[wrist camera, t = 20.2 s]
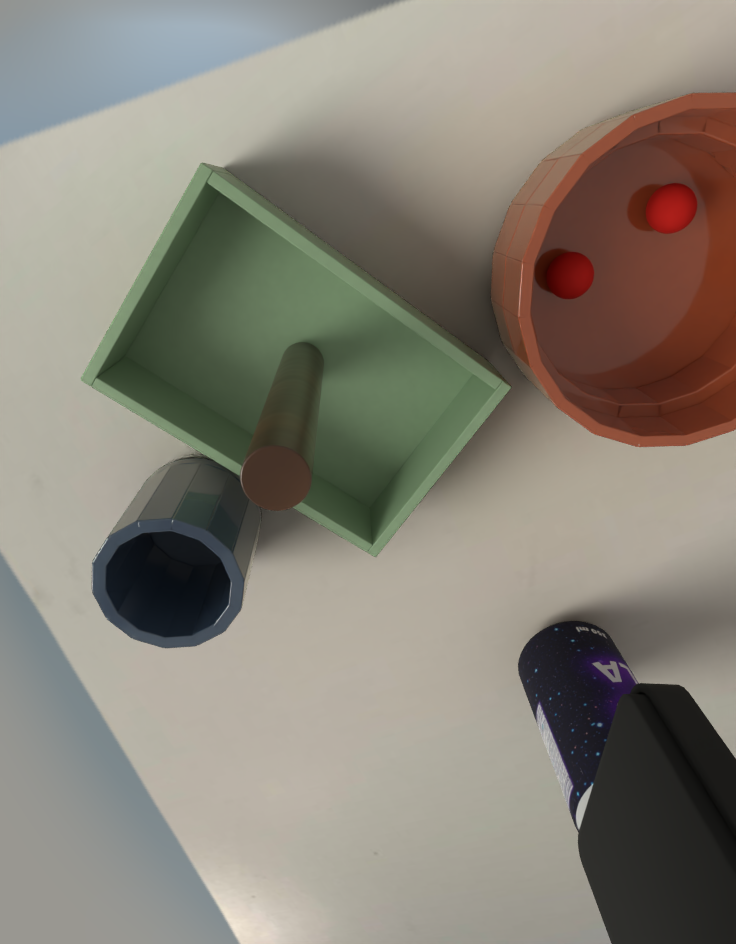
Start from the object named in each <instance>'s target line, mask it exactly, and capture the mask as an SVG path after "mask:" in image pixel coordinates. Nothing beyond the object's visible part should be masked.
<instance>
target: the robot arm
mask: <svg viewBox="0 0 736 944" xmlns="http://www.w3.org/2000/svg"><path fill="white" fill-rule="evenodd" d="M578 847H579V854H580V858H581V862H582V865H583V867H584V870H585V873H586V875H587V878H588V881H589V884H590V886H591V889H592V892H593V894H594V897H595V900H596V903H597V905H598V908H599V911H600V913H601V916H602V919H603V922H604V924H605V927H606V930H607V932H608V935H609V938H610V940H611V943H612V944H736V759H735V757H734V756H733V754H732V753H731V752H730V750H729V749H728V747H727V746H726V744H725V743H724V742H723V740H722V739H721V737H720V736H719V735H718V733H717V732H716V730H715V729H714V727H713V726H712V725H711V723H710V722H709V720H708V719H707V718H706V716H705V715H704V713H703V712H702V711H701V709H700V708H699V706H698V705H697V703H696V702H695V701H694V699H693V698H692V696H691V695H690V694H689V692H688V691H687V690H686V689H685V688H684V687H682V686H680V685H669V684H646V683H640V684H636V685H635V686H634V687H633V688H632V690H631V692H630V694H623V695H622V696H621V697H620V699H619V701H618V704H617V708H616V711H615V714H614V718H613V721H612V724H611V727H610V731H609V734H608V737H607V741H606V744H605V747H604V750H603V754H602V757H601V760H600V763H599V767H598V770H597V773H596V777H595V780H594V783H593V786H592V790H591V793H590V796H589V799H588V803H587V806H586V809H585V813H584V816H583V819H582V822H581V826H580V829H579V834H578Z"/></svg>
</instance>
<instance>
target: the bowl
mask: <svg viewBox="0 0 736 944" xmlns="http://www.w3.org/2000/svg"><path fill="white" fill-rule="evenodd" d="M671 183H680V184H684V185H686V186H688V187H689V188H690V189H692V191H693V192H694V193H695V195H696V198H697V211H696V214H695V216H694V218H693V220H692V221H691V222H690V224H689V225H688V226H686V227H685V228H684V229H682V230H680V231H678V232H675V233H671V234H664V233H660V232H657V231H656V230H654V229H653V228H652V227H651V226H650V225H649V223H648V221H647V219H646V206H647V203H648V200H649V199H650V197H651V196H652V194H653V193H654V192H655V191H656V190H657V189H659V188H660V187H662V186H664V185H667V184H671ZM566 252H578V253H581V254H583V255H585V256H586V257H587V258H588V259H589V260H590V261H591V263H592V265H593V268H594V279H593V282H592V284H591V286H590V288H589V289H588V290H587V291H586V293H584V294H583V295H582V296H580V297H578V298H575V299H562V298H559V297H557V296H556V295H554V294H553V293H552V292H551V290H550V289H549V287H548V284H547V277H546V276H547V271H548V268H549V266H550V264H551V263H552V261H553V260H554V259H555V258H556V257H558V256H559V255H561V254H563V253H566ZM491 303H492V307H493V311H494V315H495V318H496V322H497V326H498V330H499V334H500V337H501V340H502V343H503V344H504V346H505V347H506V349H507V350H508V352H509V353H510V355H511V356H512V358H513V359H514V361H515V362H516V364H517V365H518V367H519V368H520V370H521V371H522V373H523V374H524V375H525V376H526V377H527V378H528V379H529V380H530V381H531V382H532V383H533V384H534V385H535V386H536V387H537V388H538V389H539V390H540V391H541V392H542V393H543V394H544V395H545V396H546V397H547V398H548V399H549V400H550V401H551V402H552V403H553V404H554V405H555V406H556V407H557V408H558V409H560V410H561V411H563V412H564V413H565V414H567V415H568V416H569V417H571V418H572V419H573V420H575V421H576V422H578V423H579V424H580V425H582V426H583V427H584V428H586V429H587V430H589V431H590V432H591V433H594V434H595V435H599V436H602V437H605V438H609V439H612V440H616V441H619V442H622V443H626V444H629V445H632V446H636V447H657V446H686V445H690V444H693V443H696V442H700V441H703V440H706V439H709V438H712V437H715V436H718V435H722V434H725V433H728V432H731V431H734V430H736V92H721V93H691V94H686V95H683V96H679V97H676V98H673V99H669V100H666V101H663V102H659V103H656V104H653V105H649V106H646V107H642V108H639V109H636V110H632V111H629V112H626V113H624V114H621V115H618V116H615V117H613V118H610V119H607V120H605V121H602V122H599V123H596V124H594V125H591V126H588V127H586V128H584V129H582V130H580V131H579V132H578V133H577V134H575V135H574V136H573V137H571V138H570V139H569V140H568V141H566V142H565V143H564V144H562V145H561V146H560V147H558V148H557V149H556V150H555V151H553V152H552V153H551V154H549V155H548V156H547V157H546V158H544V159H543V160H542V162H541V163H540V164H539V165H538V166H537V168H536V169H535V170H534V172H533V173H532V175H531V176H530V177H529V179H528V180H527V181H526V183H525V184H524V186H523V187H522V188H521V190H520V191H519V193H518V194H517V195H516V197H515V198H514V199H513V201H512V203H511V205H510V206H509V209H508V212H507V214H506V217H505V220H504V223H503V226H502V228H501V231H500V234H499V237H498V239H497V242H496V245H495V248H494V252H493V261H492V279H491Z"/></svg>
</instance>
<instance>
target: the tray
mask: <svg viewBox="0 0 736 944" xmlns="http://www.w3.org/2000/svg"><path fill="white" fill-rule="evenodd" d="M298 342H306V343H310V344H312V345H314V346H315V347H317V348H318V349H319V351H320V352H321V354H322V356H323V359H324V369H323V379H322V388H321V398H320V407H319V417H318V426H317V436H316V445H315V455H314V464H313V473H312V483H311V487H310V490H309V493H308V494H307V496H306V497H305V498H304V500H303V501H302V502H300V503H299V504H298V505H296V506H294V507H292V508H294V509H296V510H297V511H299V512H301V513H302V514H304V515H306V516H307V517H309V518H311V519H312V520H314V521H316V522H317V523H319V524H321V525H322V526H324V527H326V528H327V529H329V530H331V531H332V532H334V533H336V534H337V535H339V536H341V537H342V538H344V539H346V540H347V541H349V542H351V543H352V544H354V545H356V546H357V547H359V548H361V549H362V550H364V551H366V552H368V553H369V554H371V555H372V556H374V557H376V556H377V555H378V554H379V553H380V551H381V550H382V549H383V548H384V546H385V545H386V544H387V543H388V541H389V540H390V539H391V538H392V536H393V535H394V534H395V533H396V531H397V530H398V529H399V528H400V526H401V525H402V524H403V523H404V521H405V520H406V519H407V518H408V516H409V515H410V514H411V513H412V511H413V510H414V509H415V508H416V506H417V505H418V504H419V503H420V501H421V500H422V499H423V498H424V496H425V495H426V494H427V493H428V491H429V490H430V489H431V488H432V486H433V485H434V484H435V483H436V481H437V480H438V479H439V478H440V476H441V475H442V474H443V473H444V471H445V470H446V469H447V468H448V466H449V465H450V464H451V463H452V461H453V460H454V459H455V458H456V456H457V455H458V454H459V453H460V451H461V450H462V449H463V448H464V446H465V445H466V444H467V443H468V441H469V440H470V439H471V438H472V436H473V435H474V434H475V433H476V431H477V430H478V429H479V428H480V426H481V425H482V424H483V423H484V421H485V420H486V419H487V418H488V416H489V415H490V414H491V413H492V411H493V410H494V409H495V408H496V406H497V405H498V404H499V403H500V401H501V400H502V399H503V398H504V396H505V395H506V394H507V393H508V391H509V390H510V389H511V386H510V384H509V383H508V382H507V381H506V380H505V379H504V378H503V377H502V376H501V374H500V373H499V372H498V371H497V370H496V369H495V368H494V367H493V365H492V364H491V363H490V362H489V361H487V360H486V359H484V358H483V357H482V356H480V355H479V354H478V353H476V352H475V351H473V350H472V349H471V348H469V347H468V346H467V345H465V344H464V343H462V342H461V341H460V340H458V339H457V338H456V337H454V336H453V335H452V334H450V333H449V332H447V331H446V330H445V329H443V328H442V327H441V326H439V325H438V324H436V323H435V322H434V321H432V320H431V319H430V318H428V317H427V316H425V315H424V314H423V313H421V312H420V311H419V310H417V309H416V308H414V307H413V306H412V305H410V304H409V303H408V302H406V301H405V300H404V299H402V298H401V297H399V296H398V295H397V294H395V293H394V292H393V291H391V290H390V289H388V288H387V287H386V286H384V285H383V284H382V283H380V282H379V281H377V280H376V279H375V278H373V277H372V276H371V275H369V274H368V273H366V272H365V271H364V270H362V269H361V268H360V267H358V266H357V265H356V264H354V263H353V262H351V261H350V260H349V259H347V258H346V257H345V256H343V255H342V254H340V253H339V252H338V251H336V250H335V249H334V248H332V247H331V246H329V245H328V244H327V243H325V242H324V241H323V240H321V239H320V238H318V237H317V236H316V235H314V234H313V233H312V232H310V231H309V230H308V229H306V228H305V227H303V226H302V225H301V224H299V223H298V222H297V221H295V220H294V219H292V218H291V217H290V216H288V215H287V214H286V213H284V212H283V211H281V210H280V209H279V208H277V207H276V206H275V205H273V204H272V203H270V202H269V201H268V200H266V199H265V198H264V197H262V196H261V195H260V194H258V193H257V192H255V191H254V190H253V189H251V188H250V187H249V186H247V185H246V184H244V183H243V182H242V181H240V180H239V179H238V178H236V177H235V176H233V175H232V174H231V173H229V172H228V171H227V170H225V169H224V168H222V167H218V166H214V165H210V164H206V163H201V164H200V166H199V168H198V169H197V171H196V173H195V175H194V176H193V178H192V180H191V182H190V184H189V185H188V187H187V189H186V191H185V193H184V194H183V196H182V198H181V200H180V202H179V203H178V205H177V207H176V209H175V211H174V212H173V214H172V216H171V218H170V220H169V221H168V223H167V225H166V227H165V228H164V230H163V232H162V234H161V236H160V237H159V239H158V241H157V243H156V245H155V246H154V248H153V250H152V252H151V254H150V255H149V257H148V259H147V261H146V263H145V264H144V266H143V268H142V270H141V272H140V273H139V275H138V277H137V279H136V280H135V282H134V284H133V286H132V288H131V289H130V291H129V293H128V295H127V297H126V298H125V300H124V302H123V304H122V306H121V307H120V309H119V311H118V313H117V315H116V316H115V318H114V320H113V322H112V324H111V325H110V327H109V329H108V331H107V332H106V334H105V336H104V338H103V340H102V341H101V343H100V345H99V347H98V349H97V350H96V352H95V354H94V356H93V358H92V359H91V361H90V363H89V365H88V367H87V368H86V370H85V372H84V374H83V376H82V377H81V381H83V382H84V383H86V384H88V385H89V386H92V388H94V389H96V390H97V391H99V392H101V393H102V394H104V395H106V396H107V397H109V398H111V399H112V400H114V401H116V402H117V403H119V404H121V405H122V406H124V407H126V408H127V409H129V410H131V411H132V412H134V413H136V414H137V415H139V416H141V417H142V418H144V419H146V420H147V421H149V422H151V423H152V424H154V425H156V426H157V427H159V428H161V429H162V430H164V431H166V432H167V433H169V434H171V435H172V436H174V437H176V438H177V439H179V440H181V441H182V442H184V443H186V444H187V445H189V446H191V447H192V448H194V449H196V450H197V451H199V452H201V453H202V454H204V455H206V456H207V457H209V458H211V459H212V460H214V461H216V462H217V463H219V464H221V465H222V466H224V467H226V468H227V469H229V470H231V471H232V472H234V473H236V474H237V475H239V476H240V471H241V467H242V464H243V462H244V459H245V456H246V454H247V451H248V448H249V445H250V443H251V440H252V437H253V435H254V432H255V429H256V427H257V424H258V421H259V418H260V416H261V413H262V410H263V408H264V405H265V402H266V400H267V397H268V394H269V391H270V389H271V386H272V383H273V381H274V378H275V375H276V373H277V370H278V367H279V364H280V362H281V359H282V356H283V354H284V352H285V351H286V349H287V348H288V347H289V346H291V345H293V344H295V343H298Z"/></svg>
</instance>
